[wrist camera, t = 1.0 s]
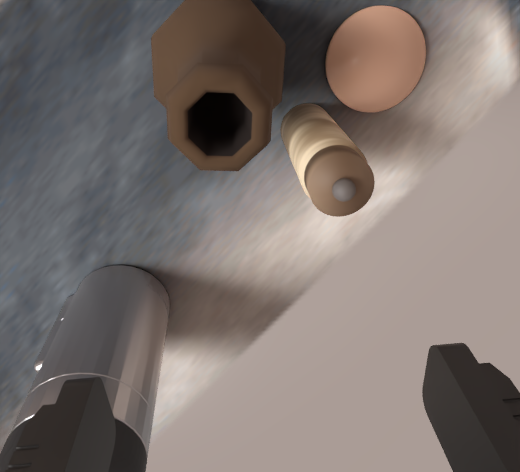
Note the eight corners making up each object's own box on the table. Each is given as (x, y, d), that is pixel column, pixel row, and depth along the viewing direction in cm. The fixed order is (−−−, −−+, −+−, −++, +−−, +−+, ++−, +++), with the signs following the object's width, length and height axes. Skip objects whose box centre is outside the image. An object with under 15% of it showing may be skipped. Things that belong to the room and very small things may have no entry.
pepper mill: (291, 161, 41) (323, 238, 28) (272, 116, 39) (298, 176, 26) (338, 142, 40) (392, 211, 28) (321, 94, 38) (372, 146, 26)
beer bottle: (248, -29, 34) (299, -57, 13) (281, 76, 37) (364, 190, 16) (150, 11, 34) (43, 48, 13) (192, 110, 38) (160, 262, 17)
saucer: (342, 125, 40) (344, 127, 39) (311, 32, 36) (312, 33, 35) (432, 87, 39) (435, 88, 38) (409, -14, 35) (412, -13, 34)
